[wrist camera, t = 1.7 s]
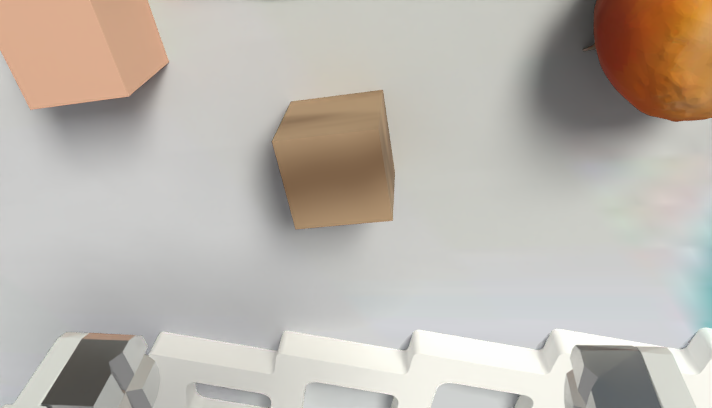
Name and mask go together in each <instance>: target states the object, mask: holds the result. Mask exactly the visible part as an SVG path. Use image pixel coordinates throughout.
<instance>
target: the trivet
mask: <svg viewBox="0 0 712 408" xmlns="http://www.w3.org/2000/svg"><path fill="white" fill-rule="evenodd" d="M575 345H630V346H634V347H635V346H645V347H662V346H656V345H650V344H645V343H639V342H633V341H627V340H621V339H615V338H610V337H604V336H598V335H592V334H586V333H580V332H575V331H569V330H563V329H554V330H552V331H551V333H550V335H549V337H548V339H547V341H546V343H545V345H544V347H543V348H542V349H539V350H535V349H529V348H523V347H517V346H511V345H505V344H500V343H494V342H488V341H482V340H476V339H470V338H464V337H459V336H453V335H447V334H441V333H435V332H429V331H424V330H416V331H414V332H413V334H412V337H411V341H410V344H409V347H408V349H406V350H398V349H392V348H386V347H380V346H375V345H369V344H363V343H357V342H351V341H345V340H339V339H333V338H328V337H322V336H316V335H310V334H304V333H298V332H292V331H284V332H283V333H282V337H281V341H280V345H279V348H278V350H277V351H275V350H269V349H263V348H257V347H251V346H245V345H239V344H233V343H228V342H222V341H216V340H210V339H204V338H198V337H192V336H186V335H180V334H175V333H169V332H161V333H160V334H159V335H158V337H157V339H156V341H155V343H154V345H153V347H152V349H151V351H150V353H149V355H148V356H149V357H150V358H152V359H153V360H155V362H156V364H157V366H158V368H159V374H160V384H159V391H158V395H157V398H156V400H155V403H154V405H153V408H303V402H304V396H305V390H306V385H307V384H309V383H312V382H319V383H325V384H331V385H337V386H342V387H348V388H354V389H360V390H366V391H372V392H378V393H384V394H389V395H392V396H394V398H393V402H392V405H391V408H430V407H431V404H432V401H433V399H434V396H435V393H436V390H437V388H438V387H439V386H440V385H442V384H444V383H456V384H461V385H467V386H473V387H479V388H485V389H491V390H497V391H503V392H508V393H514V394H520V396H519V398H518V400H517V402H516V405H515V407H514V408H565V404H564V383H565V378H566V373H568V372H569V371H571V370H572V369H573V368H572V364H571V360H570V356H571V352H572V348H573V347H574V346H575ZM667 348H668V347H667ZM668 349H669V350H670V351H671V352H672V354H673V356H674V359H675V361H676V363H677V365H678V367H679V370H680V372H681V374H682V376H683V379H684V381H685V383H686V385H687V388H688V390H689V392H690V394H691V397H692V399H693V401H694V403H695V405H696V408H712V329H711V328H701V329H699V330H698V331H697V333H696V334H695V335H694V337H693V338H692V340H691V341H690V343H689V344H688V346H687V347H685V348H684V349H674V348H668ZM196 383H201V384H207V385H213V386H219V387H225V388H231V389H237V390H243V391H249V392H254V393H260V394H264V395H266V396H267V397H269V399H270V400H271V407H259V406H253V405H247V404H241V403H235V402H229V401H223V400H217V399H211V398H206V397H203V396H201V395H200V394H198V393H197V391H196Z"/></svg>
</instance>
